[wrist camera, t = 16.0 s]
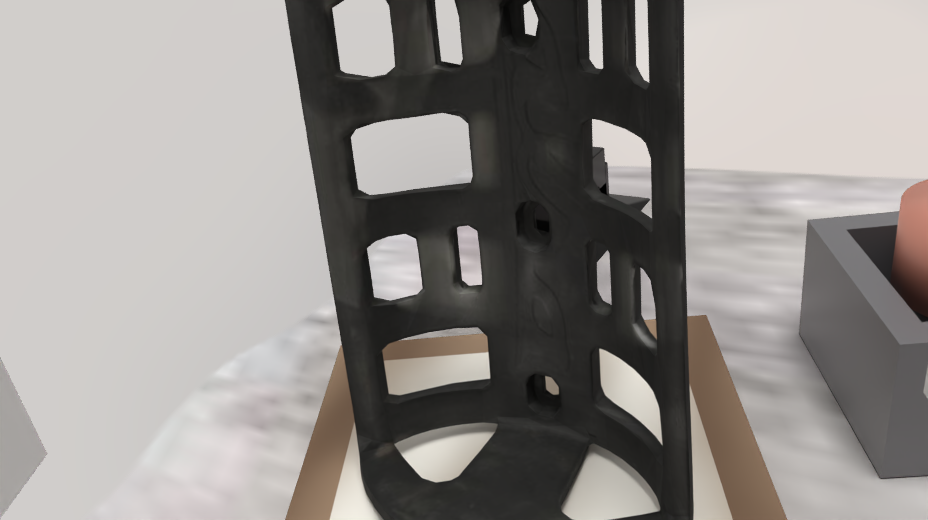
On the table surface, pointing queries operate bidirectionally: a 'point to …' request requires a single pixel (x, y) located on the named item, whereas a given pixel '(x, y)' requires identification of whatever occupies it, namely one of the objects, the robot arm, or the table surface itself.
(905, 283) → the button
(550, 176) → the holder
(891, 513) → the table surface
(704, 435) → the board
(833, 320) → the button housing
